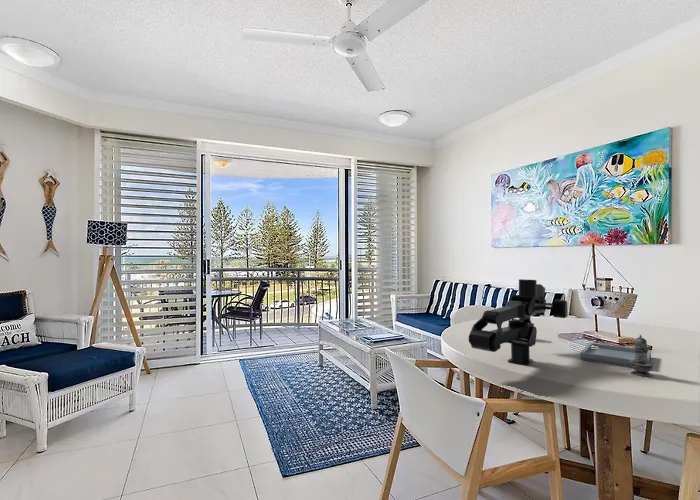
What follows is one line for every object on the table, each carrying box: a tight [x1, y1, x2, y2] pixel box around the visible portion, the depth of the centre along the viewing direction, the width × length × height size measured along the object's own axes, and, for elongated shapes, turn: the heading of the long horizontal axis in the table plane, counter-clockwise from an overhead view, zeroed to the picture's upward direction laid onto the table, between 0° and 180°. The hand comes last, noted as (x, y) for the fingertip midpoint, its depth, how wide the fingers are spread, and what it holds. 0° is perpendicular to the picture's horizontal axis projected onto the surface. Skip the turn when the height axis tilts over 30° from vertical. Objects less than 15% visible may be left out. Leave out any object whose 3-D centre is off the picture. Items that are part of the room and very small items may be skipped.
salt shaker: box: [629, 334, 654, 378], centre depth 111 cm, size 6×6×12 cm
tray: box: [579, 342, 652, 369], centre depth 127 cm, size 18×18×2 cm
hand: (547, 305), depth 143 cm, fingers open, 9 cm apart
